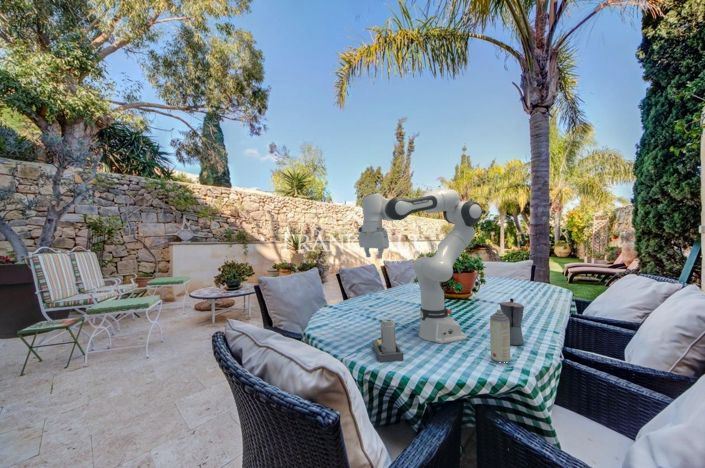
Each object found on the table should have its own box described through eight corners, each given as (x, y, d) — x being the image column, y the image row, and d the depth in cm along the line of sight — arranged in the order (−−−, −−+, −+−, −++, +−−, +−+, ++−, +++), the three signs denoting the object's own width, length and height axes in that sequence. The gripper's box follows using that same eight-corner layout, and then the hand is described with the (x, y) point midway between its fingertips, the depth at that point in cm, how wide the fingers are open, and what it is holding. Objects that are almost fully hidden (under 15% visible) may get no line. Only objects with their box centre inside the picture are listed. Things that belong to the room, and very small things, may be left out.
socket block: (393, 345, 126) (393, 337, 126) (403, 360, 111) (403, 352, 111) (372, 346, 125) (372, 339, 125) (379, 362, 110) (379, 354, 110)
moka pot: (522, 337, 130) (521, 296, 130) (527, 351, 116) (526, 304, 116) (500, 335, 134) (498, 294, 134) (502, 347, 120) (501, 302, 120)
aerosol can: (498, 354, 114) (497, 306, 114) (514, 361, 107) (513, 310, 107) (487, 357, 111) (485, 308, 111) (502, 365, 105) (501, 313, 105)
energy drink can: (380, 353, 118) (379, 318, 118) (394, 352, 118) (393, 318, 118) (383, 359, 112) (381, 323, 112) (397, 358, 112) (396, 322, 112)
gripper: (391, 227, 119) (392, 258, 119) (367, 228, 137) (367, 256, 137) (380, 227, 116) (381, 260, 116) (356, 228, 134) (357, 257, 134)
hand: (373, 257), depth 127 cm, fingers open, 8 cm apart
